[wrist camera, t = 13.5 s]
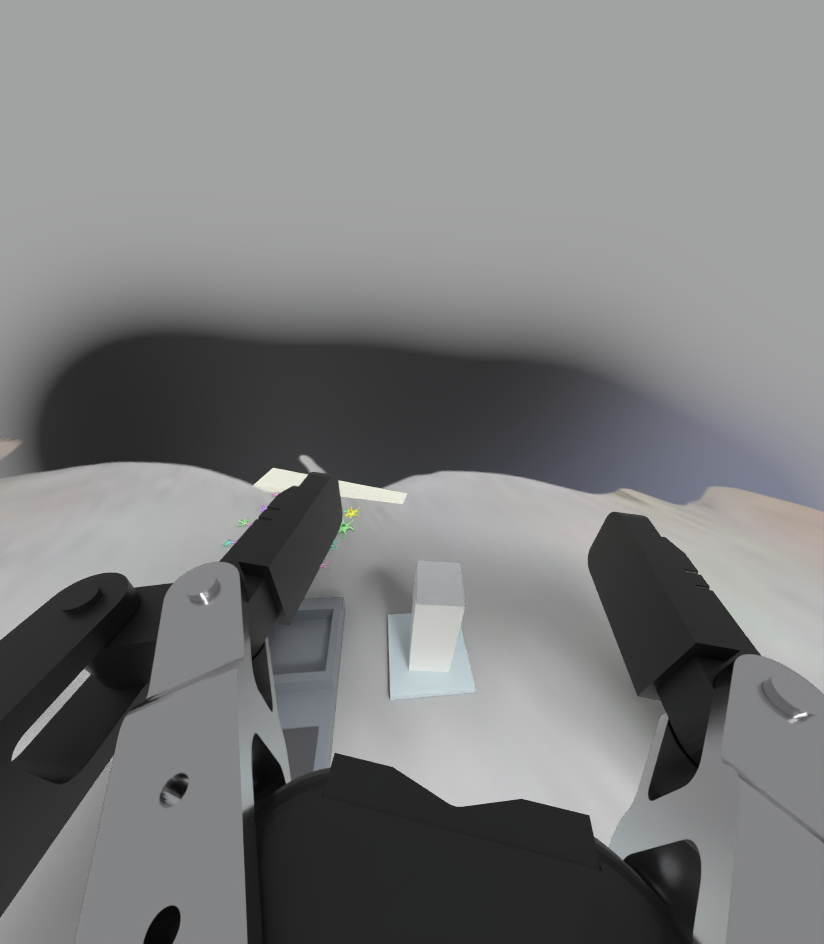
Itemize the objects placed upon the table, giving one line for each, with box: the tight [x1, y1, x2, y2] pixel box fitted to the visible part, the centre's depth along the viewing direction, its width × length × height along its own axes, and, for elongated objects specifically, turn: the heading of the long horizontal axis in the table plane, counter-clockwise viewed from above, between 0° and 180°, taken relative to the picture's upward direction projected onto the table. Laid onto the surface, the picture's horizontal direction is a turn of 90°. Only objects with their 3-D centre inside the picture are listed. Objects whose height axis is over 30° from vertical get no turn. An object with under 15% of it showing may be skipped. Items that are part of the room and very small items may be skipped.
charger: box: [409, 560, 465, 672], centre depth 31 cm, size 4×4×13 cm
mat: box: [388, 613, 476, 700], centre depth 35 cm, size 9×9×1 cm
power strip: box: [268, 597, 345, 781], centre depth 25 cm, size 8×30×4 cm, turn 6°
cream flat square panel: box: [221, 468, 407, 568], centre depth 51 cm, size 30×30×2 cm
